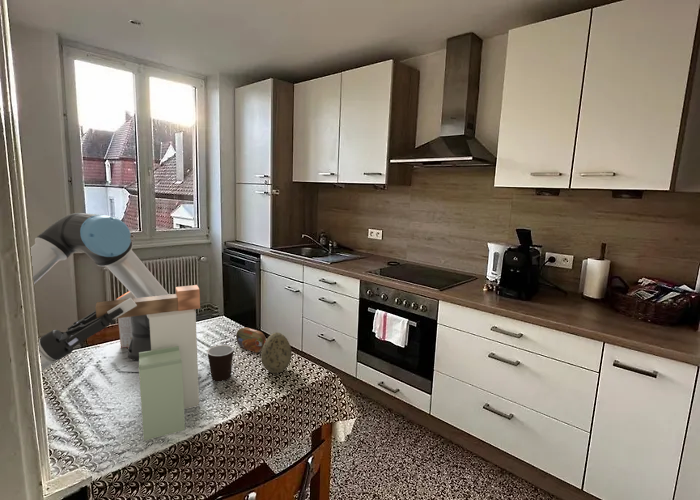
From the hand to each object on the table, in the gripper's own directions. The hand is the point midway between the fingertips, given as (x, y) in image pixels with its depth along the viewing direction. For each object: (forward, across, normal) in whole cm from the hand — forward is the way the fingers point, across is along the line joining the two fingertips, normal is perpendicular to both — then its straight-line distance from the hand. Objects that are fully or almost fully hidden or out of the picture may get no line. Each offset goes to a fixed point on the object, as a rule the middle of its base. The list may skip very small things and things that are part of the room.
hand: (133, 298), depth 107 cm
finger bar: (+1, 0, -6) cm, 6 cm away
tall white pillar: (-9, 0, -35) cm, 36 cm away
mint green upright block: (-12, +11, -33) cm, 37 cm away
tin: (+17, -28, -50) cm, 60 cm away
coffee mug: (+5, -11, -43) cm, 45 cm away
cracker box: (-19, -55, -29) cm, 65 cm away
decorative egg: (+20, -5, -52) cm, 56 cm away
